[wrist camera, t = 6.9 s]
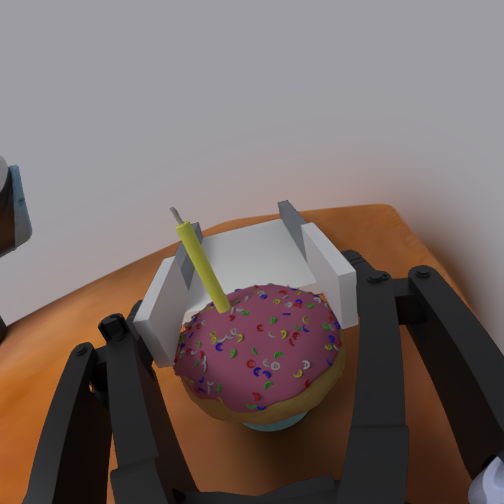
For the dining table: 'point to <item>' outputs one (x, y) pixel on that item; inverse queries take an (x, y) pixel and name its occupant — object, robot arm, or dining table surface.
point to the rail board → (250, 258)
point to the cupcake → (257, 349)
